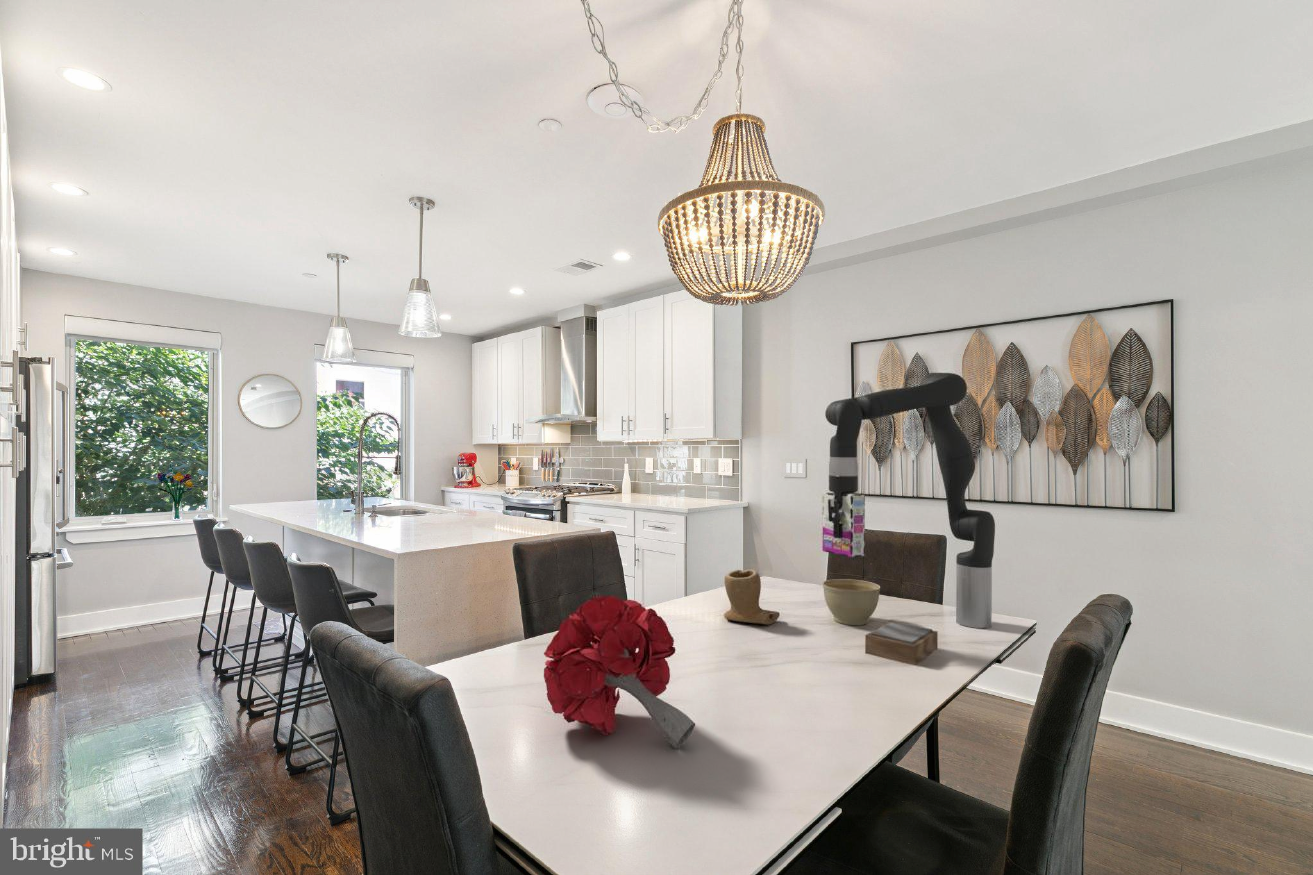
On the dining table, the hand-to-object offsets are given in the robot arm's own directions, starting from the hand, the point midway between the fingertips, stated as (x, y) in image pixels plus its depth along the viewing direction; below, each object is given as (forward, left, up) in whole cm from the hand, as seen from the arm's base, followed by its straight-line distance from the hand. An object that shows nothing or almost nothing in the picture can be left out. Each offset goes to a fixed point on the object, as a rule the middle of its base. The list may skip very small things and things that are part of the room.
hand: (843, 536), depth 164 cm
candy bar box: (0, 0, -5) cm, 5 cm away
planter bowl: (-17, -6, -28) cm, 33 cm away
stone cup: (+5, -27, -28) cm, 39 cm away
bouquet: (+78, -5, -28) cm, 83 cm away
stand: (-1, +15, -27) cm, 31 cm away
